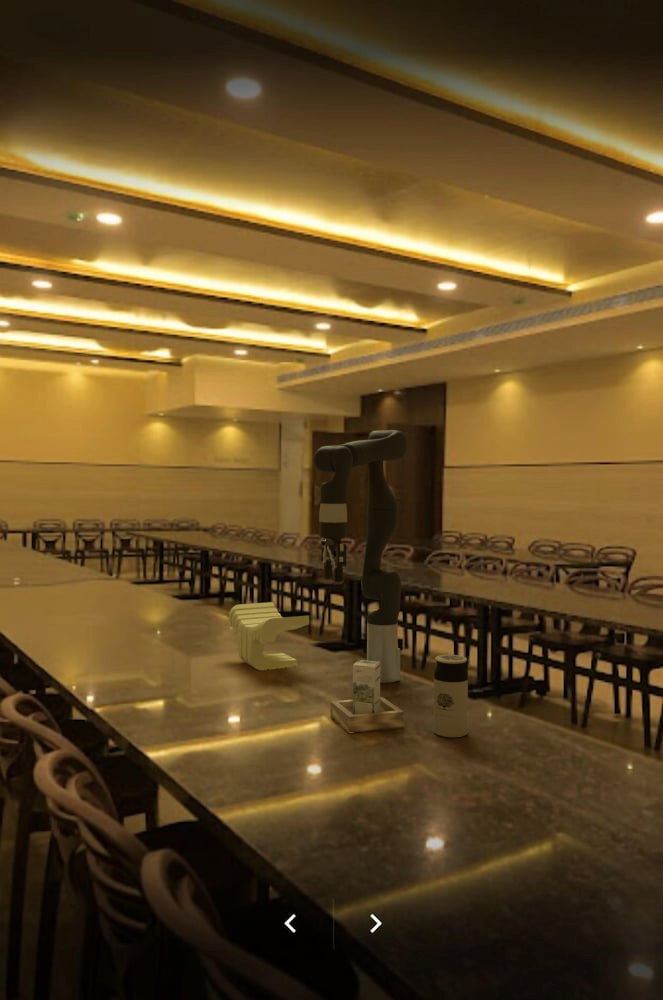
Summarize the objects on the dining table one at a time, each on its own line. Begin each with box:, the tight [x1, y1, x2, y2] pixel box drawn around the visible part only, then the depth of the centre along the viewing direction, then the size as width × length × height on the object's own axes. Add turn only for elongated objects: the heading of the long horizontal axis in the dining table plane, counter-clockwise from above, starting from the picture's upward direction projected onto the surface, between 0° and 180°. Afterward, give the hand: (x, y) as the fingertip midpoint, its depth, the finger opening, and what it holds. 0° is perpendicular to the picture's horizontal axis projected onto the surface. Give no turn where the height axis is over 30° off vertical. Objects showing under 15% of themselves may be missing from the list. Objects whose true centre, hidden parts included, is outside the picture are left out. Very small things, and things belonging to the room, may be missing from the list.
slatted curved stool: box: [228, 601, 310, 671], centre depth 259 cm, size 30×16×18 cm, turn 27°
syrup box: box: [352, 659, 381, 715], centre depth 197 cm, size 6×6×14 cm
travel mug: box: [433, 654, 469, 739], centre depth 189 cm, size 8×8×18 cm
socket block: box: [330, 696, 405, 733], centre depth 198 cm, size 14×14×4 cm
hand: (333, 580), depth 215 cm, fingers open, 8 cm apart
